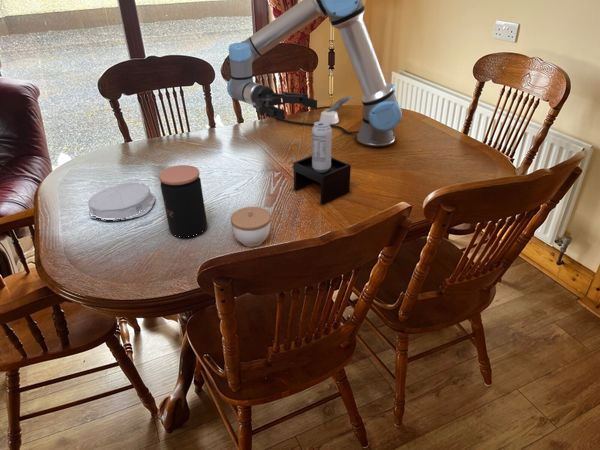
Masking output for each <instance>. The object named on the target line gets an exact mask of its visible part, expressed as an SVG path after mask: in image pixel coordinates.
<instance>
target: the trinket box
mask: <svg viewBox="0 0 600 450" xmlns="http://www.w3.org/2000/svg"><path fill="white" fill-rule="evenodd" d="M271 218H272V217H271V213H270V212H269V211H268V210H267V209H265V208H263V207H259V206H245V207H242V208H240V209H236V210H235V211H234V212H232V214H231V216H230V224H231V229H232V232H233V236H234V237H235V238H236V239H237V241H238V242H239V243H241V244H243V245H244V246H245V247H249V248H250V247H251V248H252V247H258V246H260V245H262V244H263V242H264V241H265V240H267V238H268V236H269V235H270V231H271V220H272V219H271Z"/></svg>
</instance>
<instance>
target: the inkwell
mask: <svg viewBox="0 0 600 450" xmlns="http://www.w3.org/2000/svg"><path fill="white" fill-rule="evenodd" d="M354 99H355V98H354V97H353V96H351V95H350V96H349V95H348V96H343V97H342V98H340V99H338V100H337V101H336V102H334V103H333V104H332V106H331V107H330V108H325V109H324V110H323V111H321V113H320V116H319V119H318V121H326V122H329V123H330V125H337V124H338V123H339V122H340V118H339V115H338V112H337V111H338V110H340V109H341V107H343V105H344V104H347V102H349V101H351V100H354Z"/></svg>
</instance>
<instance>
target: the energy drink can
mask: <svg viewBox="0 0 600 450" xmlns="http://www.w3.org/2000/svg"><path fill="white" fill-rule="evenodd" d="M330 125H331V124H330V123H329V122H326V121H319V120H318V121H315V122H314V126H313V125H312V128H311V156H312V167H313V168H314V170H315V171H317V172H326V171H328V170H329V168H330V167H331V157H332V137H333V135H332V134H333V129H332V128H333V127H330Z"/></svg>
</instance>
